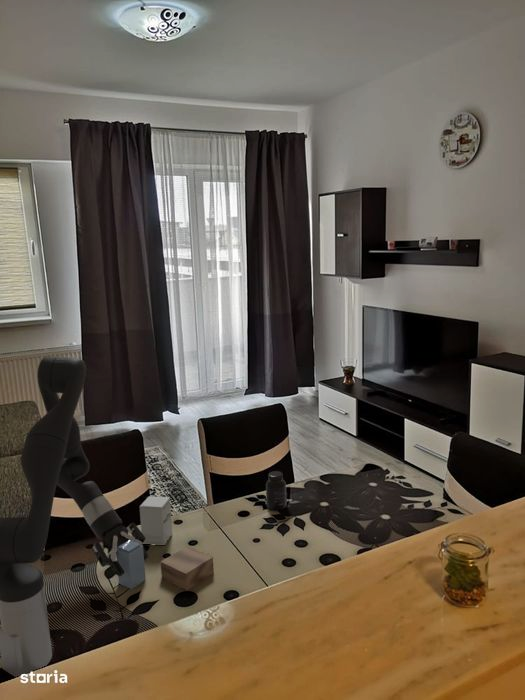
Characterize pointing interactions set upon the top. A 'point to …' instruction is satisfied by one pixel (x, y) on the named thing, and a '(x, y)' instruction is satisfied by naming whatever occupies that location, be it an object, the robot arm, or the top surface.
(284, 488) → the supplement bottle
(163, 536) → the supplement box
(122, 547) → the pale blue upright prism
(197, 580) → the walnut box
